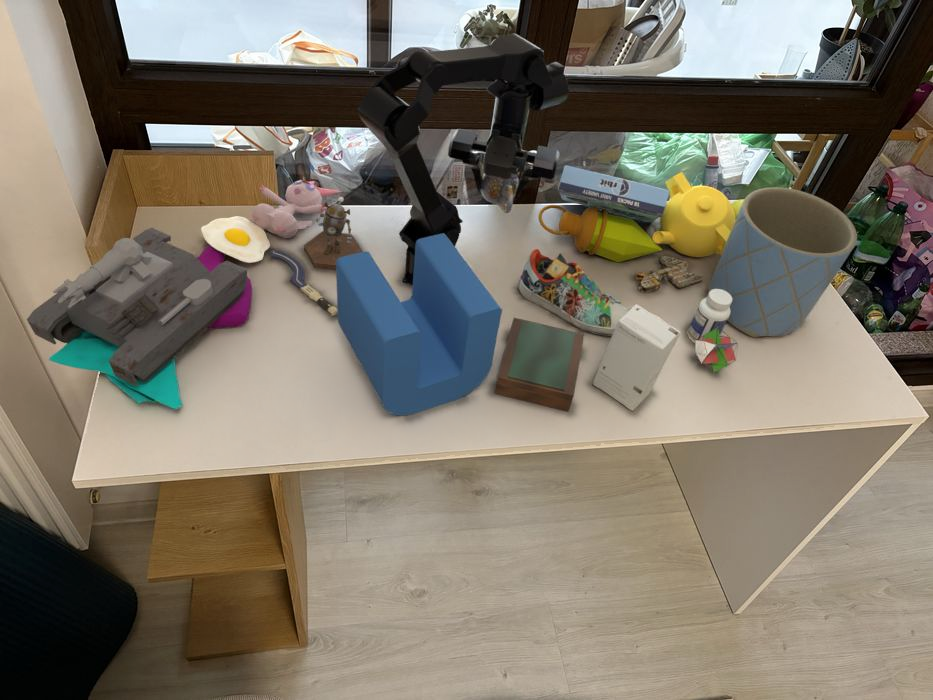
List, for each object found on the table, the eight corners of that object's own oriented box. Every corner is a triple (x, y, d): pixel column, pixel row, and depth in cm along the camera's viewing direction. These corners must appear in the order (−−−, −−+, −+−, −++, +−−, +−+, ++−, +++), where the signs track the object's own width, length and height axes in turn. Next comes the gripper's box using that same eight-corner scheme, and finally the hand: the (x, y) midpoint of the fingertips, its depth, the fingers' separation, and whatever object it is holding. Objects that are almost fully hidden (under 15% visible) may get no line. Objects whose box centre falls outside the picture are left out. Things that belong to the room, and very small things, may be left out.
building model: (673, 254, 147) (675, 247, 146) (710, 278, 142) (713, 271, 141) (621, 281, 140) (623, 273, 139) (659, 307, 135) (661, 299, 133)
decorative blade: (278, 247, 136) (255, 257, 133) (278, 243, 135) (255, 253, 132) (354, 306, 127) (332, 317, 124) (354, 302, 127) (332, 313, 124)
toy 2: (228, 200, 133) (295, 150, 146) (234, 230, 138) (299, 179, 151) (294, 228, 129) (357, 174, 142) (298, 257, 134) (359, 202, 147)
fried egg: (250, 269, 127) (251, 264, 127) (190, 234, 127) (191, 229, 127) (285, 241, 137) (286, 236, 136) (229, 208, 137) (230, 204, 136)
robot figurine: (297, 265, 132) (293, 210, 123) (306, 233, 138) (303, 179, 130) (359, 271, 133) (359, 217, 124) (365, 239, 139) (366, 185, 131)
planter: (750, 355, 129) (800, 267, 114) (682, 286, 140) (719, 198, 125) (826, 326, 136) (882, 241, 121) (755, 264, 147) (799, 178, 132)
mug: (476, 184, 138) (480, 152, 133) (512, 184, 139) (517, 153, 134) (485, 223, 130) (490, 191, 125) (523, 223, 131) (529, 192, 126)
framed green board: (494, 393, 116) (497, 376, 113) (510, 333, 126) (513, 316, 123) (568, 411, 116) (574, 394, 112) (579, 350, 125) (584, 332, 122)
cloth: (93, 300, 119) (96, 311, 121) (24, 350, 109) (28, 361, 111) (229, 357, 113) (230, 368, 115) (168, 416, 104) (170, 426, 105)
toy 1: (158, 250, 127) (136, 176, 116) (252, 292, 122) (238, 218, 111) (37, 341, 111) (-2, 266, 100) (139, 394, 106) (109, 320, 95)
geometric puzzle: (756, 346, 122) (727, 374, 119) (732, 359, 128) (704, 385, 125) (727, 313, 122) (698, 340, 119) (704, 327, 129) (676, 353, 126)
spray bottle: (181, 332, 118) (192, 238, 135) (252, 328, 120) (253, 236, 137) (178, 318, 116) (189, 225, 133) (250, 314, 118) (252, 223, 135)
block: (381, 424, 110) (384, 340, 97) (338, 343, 120) (335, 258, 107) (486, 389, 117) (502, 307, 104) (437, 315, 127) (446, 232, 114)
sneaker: (619, 349, 126) (634, 307, 119) (509, 299, 132) (517, 256, 125) (634, 324, 131) (650, 282, 124) (528, 277, 137) (536, 235, 130)
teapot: (619, 220, 151) (625, 193, 140) (693, 173, 152) (704, 144, 141) (679, 295, 145) (690, 274, 134) (755, 246, 146) (772, 221, 136)
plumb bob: (654, 245, 148) (535, 212, 146) (673, 217, 141) (548, 182, 139) (651, 281, 144) (529, 248, 142) (671, 254, 136) (542, 218, 134)
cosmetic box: (591, 385, 120) (613, 319, 109) (610, 365, 123) (634, 300, 113) (634, 413, 117) (662, 349, 106) (653, 393, 120) (682, 328, 109)
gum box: (562, 200, 156) (556, 191, 133) (568, 176, 155) (563, 163, 133) (652, 223, 153) (662, 218, 131) (659, 199, 152) (670, 189, 130)
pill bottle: (717, 331, 132) (738, 291, 125) (714, 351, 128) (735, 311, 121) (688, 322, 133) (706, 282, 126) (684, 342, 129) (703, 301, 122)
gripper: (444, 127, 117) (436, 208, 128) (559, 152, 116) (541, 231, 127) (459, 95, 125) (451, 174, 136) (567, 118, 124) (550, 196, 135)
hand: (497, 194), depth 133 cm, fingers closed on mug, 6 cm apart
